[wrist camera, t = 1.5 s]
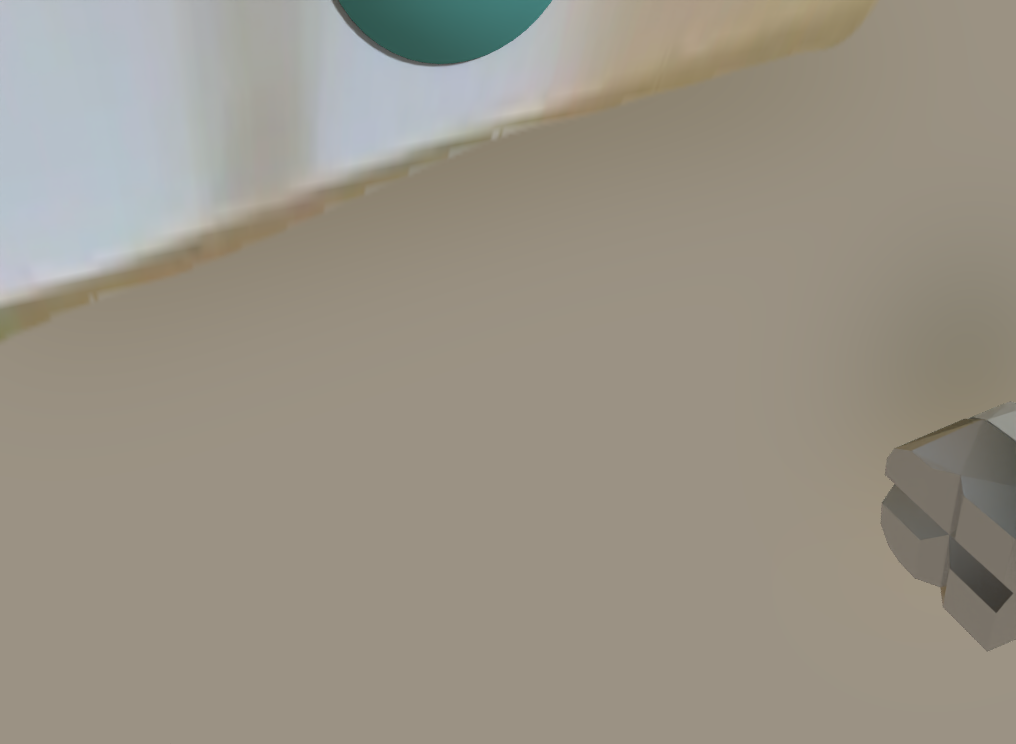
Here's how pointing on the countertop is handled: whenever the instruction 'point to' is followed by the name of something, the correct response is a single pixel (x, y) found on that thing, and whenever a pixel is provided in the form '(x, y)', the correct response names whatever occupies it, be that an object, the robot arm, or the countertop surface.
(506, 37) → the disc
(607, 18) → the countertop surface
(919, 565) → the robot arm
